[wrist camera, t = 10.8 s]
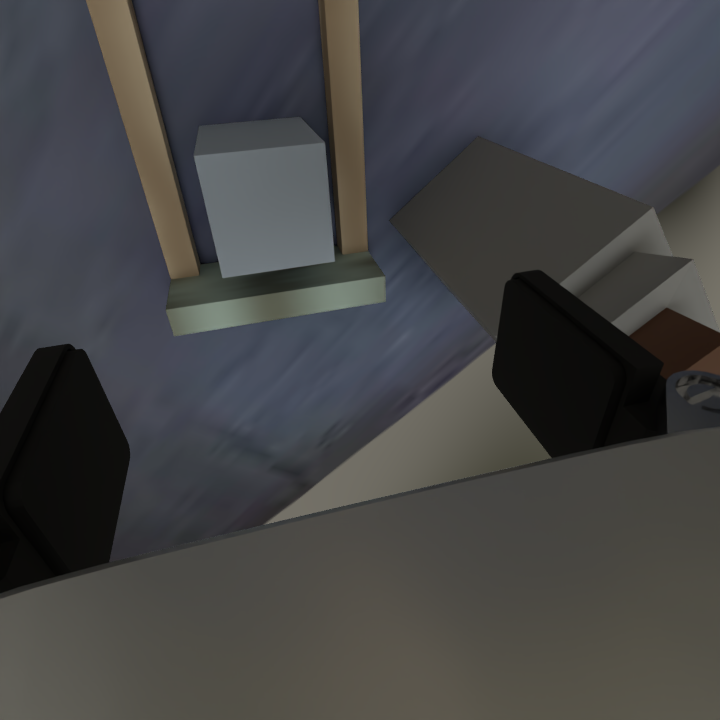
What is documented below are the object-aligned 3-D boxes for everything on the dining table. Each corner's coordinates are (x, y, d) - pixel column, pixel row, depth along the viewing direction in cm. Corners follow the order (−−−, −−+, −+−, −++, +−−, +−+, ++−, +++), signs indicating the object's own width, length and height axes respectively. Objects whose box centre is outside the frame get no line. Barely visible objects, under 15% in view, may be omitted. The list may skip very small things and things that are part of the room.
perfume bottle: (448, 289, 32) (636, 498, 18) (389, 220, 28) (566, 414, 14) (529, 219, 31) (805, 385, 16) (478, 136, 27) (778, 257, 13)
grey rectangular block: (299, 116, 24) (324, 142, 19) (310, 213, 27) (334, 261, 22) (198, 125, 23) (193, 156, 18) (221, 225, 26) (222, 278, 21)
